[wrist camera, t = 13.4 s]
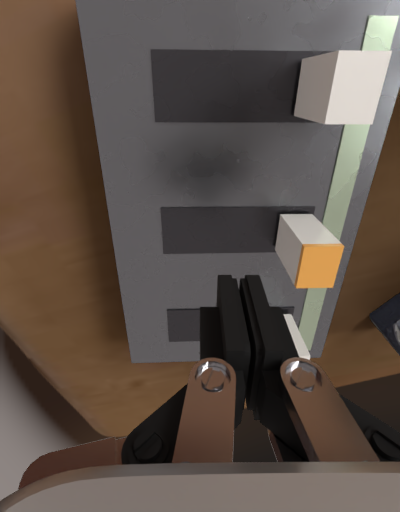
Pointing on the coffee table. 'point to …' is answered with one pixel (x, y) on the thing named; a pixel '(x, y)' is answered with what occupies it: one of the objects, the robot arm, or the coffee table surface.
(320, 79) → the breaker
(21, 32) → the coffee table surface
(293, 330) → the block
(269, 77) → the breaker panel
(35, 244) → the coffee table surface
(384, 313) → the vhs cassette tape
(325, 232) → the block
